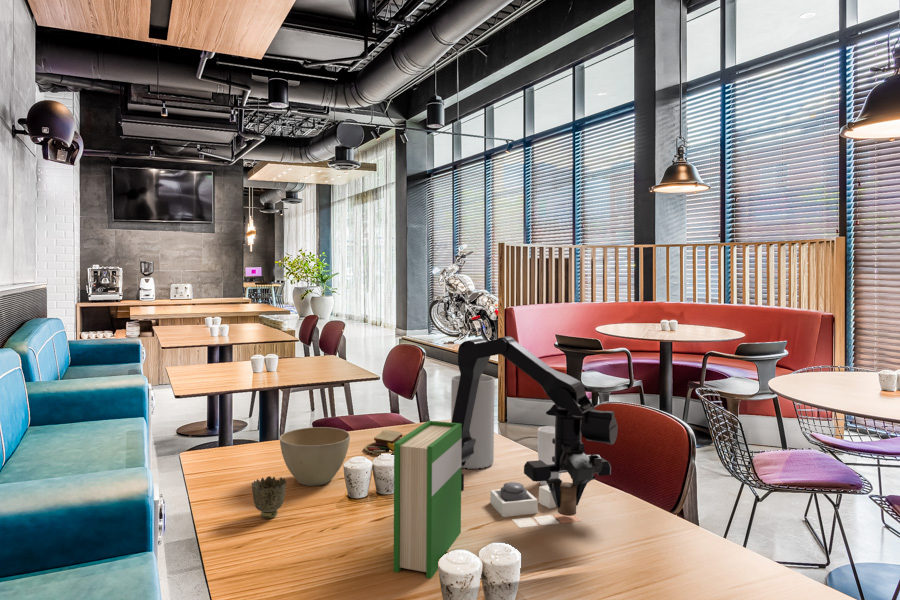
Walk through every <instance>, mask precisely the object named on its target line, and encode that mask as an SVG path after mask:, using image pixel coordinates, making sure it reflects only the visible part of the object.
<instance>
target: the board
mask: <svg viewBox="0 0 900 600" xmlns="http://www.w3.org/2000/svg"><path fill="white" fill-rule="evenodd" d="M489 495H490V497H489V501H490V502H489V503H490V504H491V506H492V507H493V508H494V510H496V511H497V513H499V515H500V516H501V517H502V518H506V517H515V516H523V515H524V516H525V515H526V516H527V515H534V514H535V515H536V514H538V511H539V510H538V505H539V504H538V503H539V499H537V498H536V497H535V496H534V495H533V494H532V493H530V491H528V490H527V499H526V500H518V501H509V502H505V501H504V500H503V499H502V498H501V497H500V496H501V488H499V489H490V492H489ZM557 519H558V520H559V521H558V520H557ZM511 520H512V521H513V523H514V524H515V525H516V526H517V527H518V528H519V529H521V528H531V527H539V525H540V526H548V525H558V524H560V523H562V524H565V523H574V522H581V519H579V518H578V517H577V516H575V515H572V516H565V515H561V514H559V513H556V514H553V515H552V514H551V515H550V514H549V515H547V514H546V515H540V516H533V517H531V516H530V517H523V518H521V517H520V518H514V519H513V518H512V519H511ZM538 524H539V525H538Z"/></svg>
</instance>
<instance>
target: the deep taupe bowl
mask: <svg viewBox="0 0 900 600" xmlns="http://www.w3.org/2000/svg"><path fill="white" fill-rule="evenodd" d="M350 439H351V434H350V433H349V432H348V431H346V430H345V429H341V428H336V427H327V426H324V427H323V426H320V427H319V426H317V427H304V428H297V429H293V430H289V431H286V432H284V433H283V434H281V435H280V437H279V446H280V450H281V455H282V457H283V461H284V464H285V465H286V468H287V469H288V471H289V472H290V474H291V476H293V477H294V479H295V480H296V481H297V482H298V483H299V484H300V485H303V486H306V487H316V486H317V487H318V486H322V485H326V484H328V483H330V482H331V481H332V480H333V478H334V477H335V476H336V474H337V473H339V470H340V469H341V467H342V465H343V463H344V461H345V459H346V457H347V454H348V450H349V447H350V446H349V445H350V441H351V440H350Z"/></svg>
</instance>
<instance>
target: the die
mask: <svg viewBox="0 0 900 600" xmlns="http://www.w3.org/2000/svg"><path fill="white" fill-rule="evenodd" d="M538 503H539V504H540V505H542V506H544V507H545V508H548V509H554V508H558V507H557V506H556V504H555V502H554V499H553V496H552V494H551V491H550V489H549V486H548V485H541V486H539V487H538Z"/></svg>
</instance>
